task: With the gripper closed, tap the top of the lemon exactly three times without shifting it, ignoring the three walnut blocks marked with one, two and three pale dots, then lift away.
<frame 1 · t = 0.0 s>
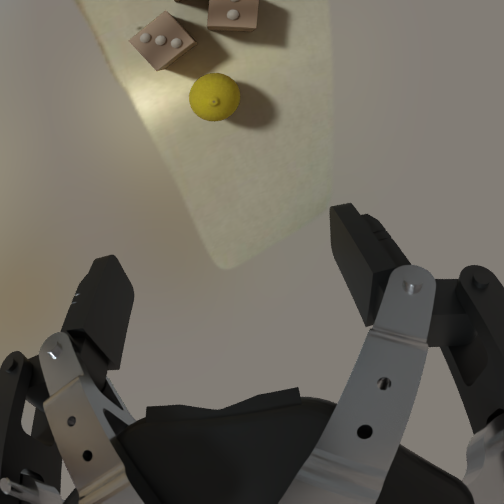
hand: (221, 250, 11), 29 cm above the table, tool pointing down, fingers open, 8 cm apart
block three dots: (168, 42, 28), on the table
lemon: (215, 92, 33), on the table
block two dots: (231, 12, 27), on the table
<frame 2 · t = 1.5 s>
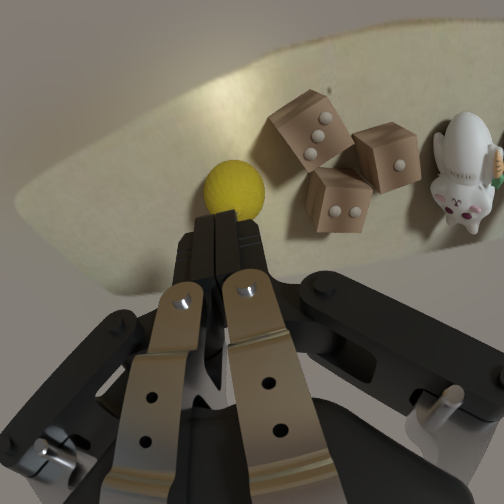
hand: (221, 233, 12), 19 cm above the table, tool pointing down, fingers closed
block one dot: (376, 147, 30), on the table
block three dots: (303, 122, 28), on the table
cat figurine: (448, 161, 31), on the table
lemon: (232, 174, 30), on the table
block two dots: (329, 188, 32), on the table
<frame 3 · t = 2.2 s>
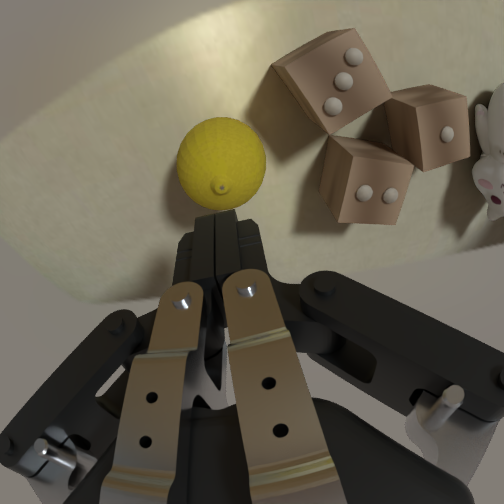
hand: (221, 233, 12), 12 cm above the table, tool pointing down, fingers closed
block one dot: (411, 115, 21), on the table
block three dots: (317, 74, 19), on the table
cat figurine: (488, 141, 22), on the table
lemon: (221, 142, 22), on the table
block two dots: (351, 166, 24), on the table
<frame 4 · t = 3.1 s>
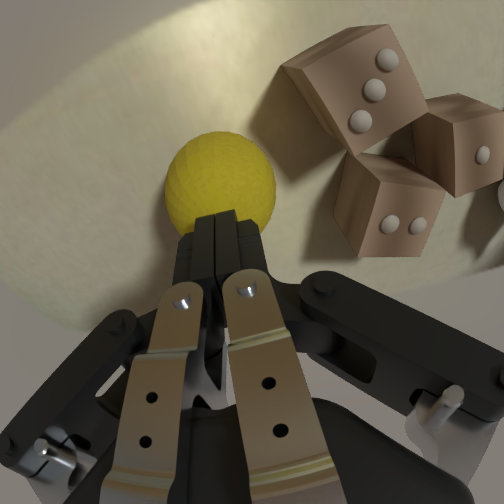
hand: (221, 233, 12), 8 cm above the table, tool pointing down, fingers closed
block one dot: (437, 128, 18), on the table
block three dots: (336, 78, 16), on the table
lemon: (219, 159, 18), on the table
block two dots: (370, 186, 20), on the table
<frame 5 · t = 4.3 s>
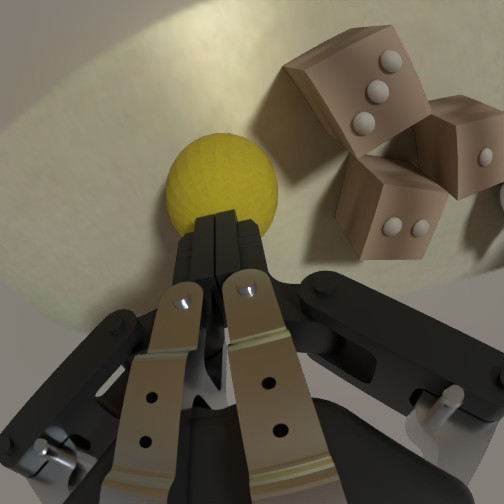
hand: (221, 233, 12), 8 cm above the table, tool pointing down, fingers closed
block one dot: (440, 130, 18), on the table
block three dots: (338, 79, 15), on the table
lemon: (221, 161, 18), on the table, touching gripper
block two dots: (372, 188, 20), on the table
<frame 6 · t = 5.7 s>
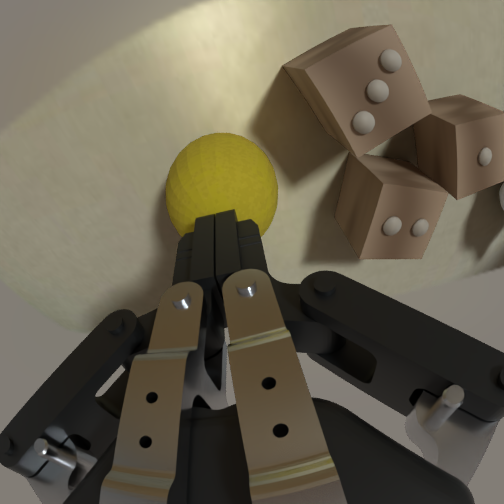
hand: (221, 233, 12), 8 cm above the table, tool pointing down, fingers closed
block one dot: (439, 130, 18), on the table
block three dots: (338, 79, 15), on the table
lemon: (220, 160, 18), on the table
block two dots: (372, 188, 20), on the table
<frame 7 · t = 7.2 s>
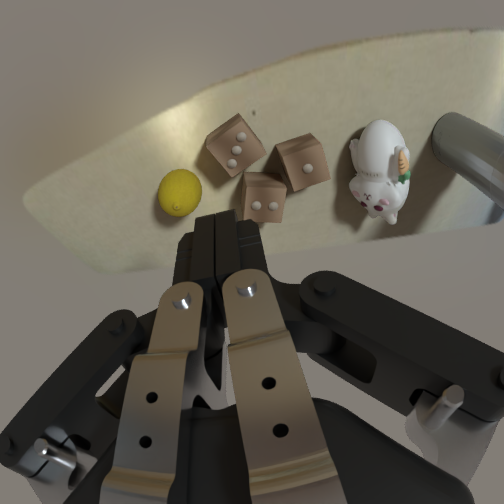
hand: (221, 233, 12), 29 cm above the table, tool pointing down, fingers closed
block one dot: (297, 154, 40), on the table
block three dots: (234, 138, 37), on the table
cat figurine: (370, 162, 41), on the table
lemon: (183, 178, 40), on the table
block two dots: (259, 188, 42), on the table
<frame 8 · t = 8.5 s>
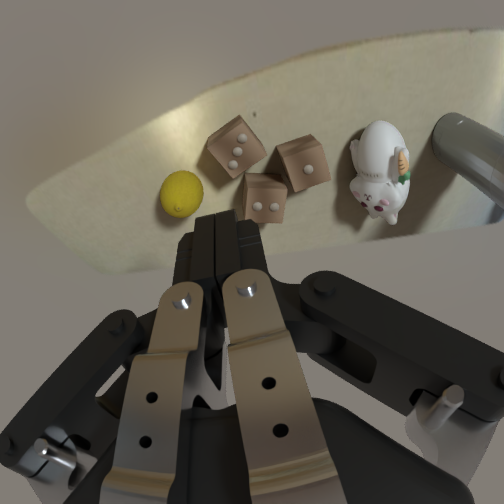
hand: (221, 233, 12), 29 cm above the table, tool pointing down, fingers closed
block one dot: (298, 155, 40), on the table
block three dots: (235, 139, 38), on the table
cat figurine: (370, 163, 41), on the table
lemon: (184, 180, 41), on the table
block two dots: (260, 189, 43), on the table
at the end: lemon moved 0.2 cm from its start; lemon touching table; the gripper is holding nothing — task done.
